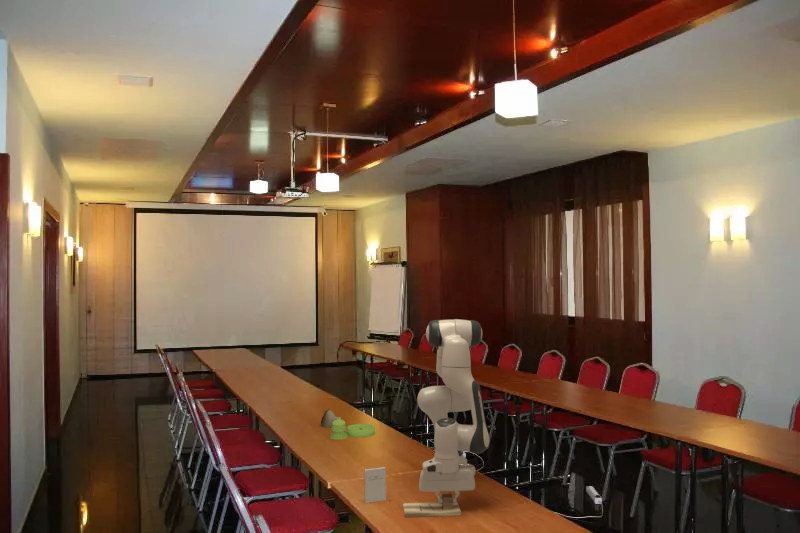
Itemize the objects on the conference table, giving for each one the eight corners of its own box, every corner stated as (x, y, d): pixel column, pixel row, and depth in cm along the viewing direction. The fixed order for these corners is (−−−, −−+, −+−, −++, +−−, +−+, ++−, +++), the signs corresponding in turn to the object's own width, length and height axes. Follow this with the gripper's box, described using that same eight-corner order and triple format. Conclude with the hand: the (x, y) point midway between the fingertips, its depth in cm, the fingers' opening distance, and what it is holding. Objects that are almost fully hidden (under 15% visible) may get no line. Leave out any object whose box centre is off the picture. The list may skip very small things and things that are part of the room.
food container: (366, 433, 361) (366, 410, 361) (379, 439, 348) (379, 415, 349) (324, 440, 348) (324, 416, 348) (336, 445, 335) (336, 421, 336)
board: (403, 506, 244) (403, 503, 244) (456, 504, 245) (456, 501, 245) (404, 517, 233) (404, 513, 233) (461, 515, 234) (461, 511, 234)
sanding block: (441, 504, 241) (441, 493, 242) (451, 504, 242) (451, 493, 242) (443, 509, 237) (443, 498, 237) (453, 509, 237) (453, 497, 237)
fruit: (333, 427, 376) (333, 406, 376) (342, 430, 369) (342, 409, 369) (318, 430, 370) (317, 409, 370) (327, 433, 362) (327, 411, 362)
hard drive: (364, 502, 249) (364, 469, 249) (385, 499, 252) (384, 466, 252) (366, 503, 247) (365, 470, 248) (386, 500, 250) (386, 467, 251)
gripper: (473, 461, 243) (474, 499, 243) (418, 462, 242) (419, 500, 242) (476, 466, 237) (477, 504, 237) (419, 467, 236) (420, 506, 236)
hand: (447, 502), depth 239 cm, fingers closed on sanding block, 3 cm apart
